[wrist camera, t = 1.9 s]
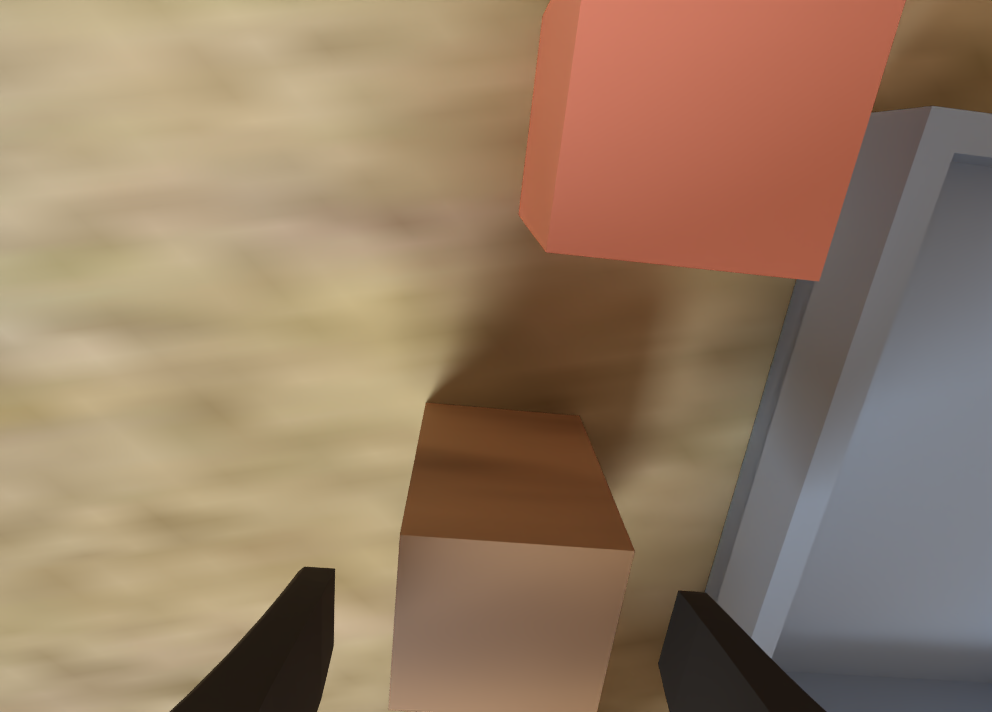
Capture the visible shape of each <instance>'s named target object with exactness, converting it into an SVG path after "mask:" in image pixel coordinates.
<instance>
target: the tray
mask: <svg viewBox="0 0 992 712" xmlns="http://www.w3.org/2000/svg"><path fill="white" fill-rule="evenodd" d="M705 592H706V593H707V594H708V595H709V596H710V597H711V598H712V599H713V600H714V601H715V602H716V603H717V604H718V605H719V606H720V607H721V608H722V609H723V610H724V611H725V612H726V613H727V614H728V615H729V616H730V617H731V618H732V619H733V620H734V621H735V622H736V623H737V624H738V625H739V626H740V627H741V628H742V629H743V630H744V631H745V632H746V633H747V634H748V635H749V636H750V637H751V638H752V639H753V640H754V642H755V643H756V644H757V645H758V646H759V647H760V648H761V649H762V650H763V651H764V652H765V653H766V654H767V655H768V656H769V657H770V658H771V659H772V660H773V661H774V662H775V663H776V664H777V665H778V666H779V667H780V668H781V669H782V670H783V671H784V672H785V673H786V674H787V675H788V676H789V677H790V678H791V679H792V680H794V681H795V682H796V683H797V684H798V685H799V686H800V687H801V688H802V689H803V690H804V691H805V692H806V693H807V694H808V695H809V696H810V697H811V698H812V699H813V700H814V701H816V702H817V703H818V704H819V705H820V706H821V707H822V708H823V709H824V710H825V711H827V712H992V114H990V113H983V112H975V111H968V110H960V109H953V108H945V107H938V106H926V107H918V108H909V109H900V110H891V111H883V112H874V113H871V115H870V118H869V121H868V125H867V128H866V131H865V134H864V138H863V141H862V144H861V147H860V151H859V154H858V157H857V160H856V164H855V167H854V170H853V173H852V177H851V180H850V183H849V186H848V190H847V193H846V196H845V199H844V203H843V206H842V209H841V212H840V215H839V219H838V222H837V225H836V228H835V232H834V235H833V238H832V241H831V245H830V248H829V251H828V254H827V258H826V261H825V264H824V267H823V271H822V274H821V277H820V280H819V281H810V280H801V279H797V280H796V283H795V286H794V290H793V293H792V297H791V300H790V303H789V307H788V310H787V314H786V317H785V320H784V324H783V327H782V331H781V334H780V337H779V341H778V344H777V348H776V351H775V354H774V358H773V361H772V365H771V368H770V371H769V375H768V378H767V382H766V385H765V388H764V392H763V395H762V399H761V402H760V405H759V409H758V412H757V416H756V419H755V422H754V426H753V429H752V433H751V436H750V439H749V443H748V446H747V450H746V453H745V457H744V460H743V463H742V467H741V470H740V474H739V477H738V480H737V484H736V487H735V491H734V494H733V497H732V501H731V504H730V508H729V511H728V514H727V518H726V521H725V525H724V528H723V531H722V535H721V538H720V542H719V545H718V548H717V552H716V555H715V559H714V562H713V565H712V569H711V572H710V576H709V579H708V582H707V586H706V589H705Z"/></svg>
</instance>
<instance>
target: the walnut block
mask: <svg viewBox="0 0 992 712" xmlns="http://www.w3.org/2000/svg"><path fill="white" fill-rule="evenodd" d="M634 553H635V550H634V548H633V545H632V543H631V540H630V538H629V536H628V533H627V531H626V528H625V526H624V523H623V521H622V518H621V516H620V514H619V511H618V509H617V506H616V504H615V501H614V499H613V496H612V494H611V492H610V489H609V487H608V484H607V482H606V479H605V477H604V474H603V472H602V470H601V467H600V465H599V462H598V460H597V457H596V455H595V452H594V450H593V448H592V445H591V443H590V440H589V438H588V435H587V433H586V430H585V428H584V426H583V423H582V421H581V418H580V416H576V415H565V414H553V413H542V412H530V411H519V410H507V409H496V408H484V407H473V406H461V405H449V404H438V403H426V405H425V410H424V415H423V420H422V425H421V430H420V435H419V440H418V445H417V450H416V456H415V461H414V466H413V471H412V476H411V481H410V486H409V491H408V496H407V501H406V506H405V511H404V517H403V522H402V527H401V532H400V541H399V556H398V571H397V587H396V602H395V617H394V633H393V648H392V663H391V678H390V694H389V709H388V710H395V711H416V712H597V710H598V705H599V701H600V697H601V693H602V688H603V684H604V680H605V676H606V671H607V667H608V663H609V659H610V654H611V650H612V646H613V642H614V637H615V633H616V629H617V625H618V621H619V616H620V612H621V608H622V604H623V599H624V595H625V591H626V587H627V582H628V578H629V574H630V570H631V565H632V561H633V557H634Z"/></svg>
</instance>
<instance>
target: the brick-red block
mask: <svg viewBox="0 0 992 712" xmlns="http://www.w3.org/2000/svg"><path fill="white" fill-rule="evenodd" d="M905 1H906V0H550V2H549V4H548V6H547V8H546V10H545V12H544V14H543V16H542V25H541V33H540V41H539V50H538V58H537V66H536V74H535V83H534V91H533V99H532V107H531V116H530V124H529V132H528V141H527V149H526V157H525V165H524V174H523V182H522V190H521V199H520V207H519V217H520V218H521V219H522V221H523V222H524V223H525V225H526V226H527V227H528V229H529V230H530V231H531V233H532V234H533V236H534V237H535V238H536V240H537V241H538V242H539V244H540V245H541V246H542V248H543V249H544V250H545V252H548V253H557V254H567V255H576V256H585V257H595V258H604V259H614V260H623V261H632V262H642V263H651V264H660V265H670V266H679V267H689V268H698V269H707V270H717V271H726V272H735V273H745V274H754V275H764V276H773V277H782V278H792V279H801V280H810V281H819V280H820V277H821V274H822V271H823V267H824V264H825V261H826V258H827V254H828V251H829V248H830V245H831V241H832V238H833V235H834V232H835V228H836V225H837V222H838V219H839V215H840V212H841V209H842V206H843V203H844V199H845V196H846V193H847V190H848V186H849V183H850V180H851V177H852V173H853V170H854V167H855V164H856V160H857V157H858V154H859V151H860V147H861V144H862V141H863V138H864V134H865V131H866V128H867V125H868V121H869V118H870V115H871V112H872V108H873V105H874V102H875V99H876V95H877V92H878V89H879V86H880V83H881V79H882V76H883V73H884V70H885V66H886V63H887V60H888V57H889V53H890V50H891V47H892V44H893V40H894V37H895V34H896V31H897V27H898V24H899V21H900V18H901V14H902V11H903V8H904V5H905Z"/></svg>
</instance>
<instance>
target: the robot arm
mask: <svg viewBox="0 0 992 712" xmlns="http://www.w3.org/2000/svg"><path fill="white" fill-rule="evenodd" d="M334 595H335V569H332V568H316V567H304V568H302V569H301V570H300V571H299V572H298V573H297V574H296V575H295V577H294V578H293V579H292V581H291V582H290V583H289V584H288V586H287V587H286V588H285V589H284V591H283V592H282V593H281V594H280V596H279V597H278V598H277V599H276V601H275V602H274V603H273V604H272V605H271V606H270V608H269V609H268V610H267V611H266V612H265V614H264V615H263V616H262V617H261V618H260V619H259V621H258V622H257V623H256V624H255V625H254V626H253V627H252V628H251V629H250V631H249V632H248V633H247V634H246V635H245V636H244V637H243V638H242V639H241V640H240V642H239V643H238V644H237V645H236V646H235V647H234V648H233V649H232V650H231V651H230V652H229V654H228V655H227V656H226V657H225V658H224V659H223V660H222V661H221V662H220V663H219V664H218V665H217V666H216V667H215V668H214V669H213V670H212V671H211V672H210V673H209V674H208V675H207V676H206V677H205V678H204V679H203V680H202V681H201V682H200V683H199V684H198V685H197V686H196V687H195V688H194V689H193V690H192V691H191V692H190V693H189V694H188V695H187V696H186V697H185V698H184V699H183V700H182V701H180V702H179V703H178V704H177V705H176V706H175V707H174V708H173V709H172V710H171V711H170V712H317V710H318V707H319V704H320V701H321V698H322V693H323V689H324V685H325V681H326V677H327V672H328V668H329V664H330V659H331V655H332V651H333V646H334ZM658 665H659V669H660V674H661V678H662V682H663V687H664V691H665V695H666V699H667V703H668V707H669V711H670V712H827V711H825V710H824V709H823V708H822V707H821V706H820V705H819V704H818V703H817V702H816V701H814V700H813V699H812V698H811V697H810V696H809V695H808V694H807V693H806V692H805V691H804V690H803V689H802V688H801V687H800V686H799V685H798V684H797V683H796V682H795V681H794V680H792V679H791V678H790V677H789V676H788V675H787V674H786V673H785V672H784V671H783V670H782V669H781V668H780V667H779V666H778V665H777V664H776V663H775V662H774V661H773V660H772V659H771V658H770V657H769V656H768V655H767V654H766V653H765V652H764V651H763V650H762V649H761V648H760V647H759V646H758V645H757V644H756V643H755V642H754V640H753V639H752V638H751V637H750V636H749V635H748V634H747V633H746V632H745V631H744V630H743V629H742V628H741V627H740V626H739V625H738V624H737V623H736V622H735V621H734V620H733V619H732V618H731V617H730V616H729V615H728V614H727V613H726V612H725V611H724V610H723V609H722V608H721V607H720V606H719V605H718V604H717V603H716V602H715V601H714V600H713V599H712V598H711V597H710V596H709V595H708V594H707V593H706V592H690V591H678V594H677V598H676V601H675V605H674V608H673V612H672V616H671V619H670V623H669V626H668V630H667V634H666V637H665V641H664V644H663V648H662V652H661V655H660V659H659V662H658Z"/></svg>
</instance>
